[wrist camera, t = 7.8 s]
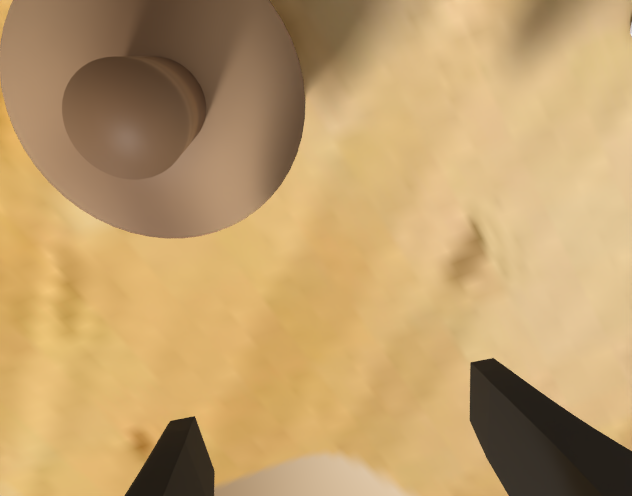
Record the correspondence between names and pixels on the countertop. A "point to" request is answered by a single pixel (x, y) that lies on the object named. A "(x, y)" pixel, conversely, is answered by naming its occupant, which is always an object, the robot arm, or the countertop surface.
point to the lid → (155, 107)
